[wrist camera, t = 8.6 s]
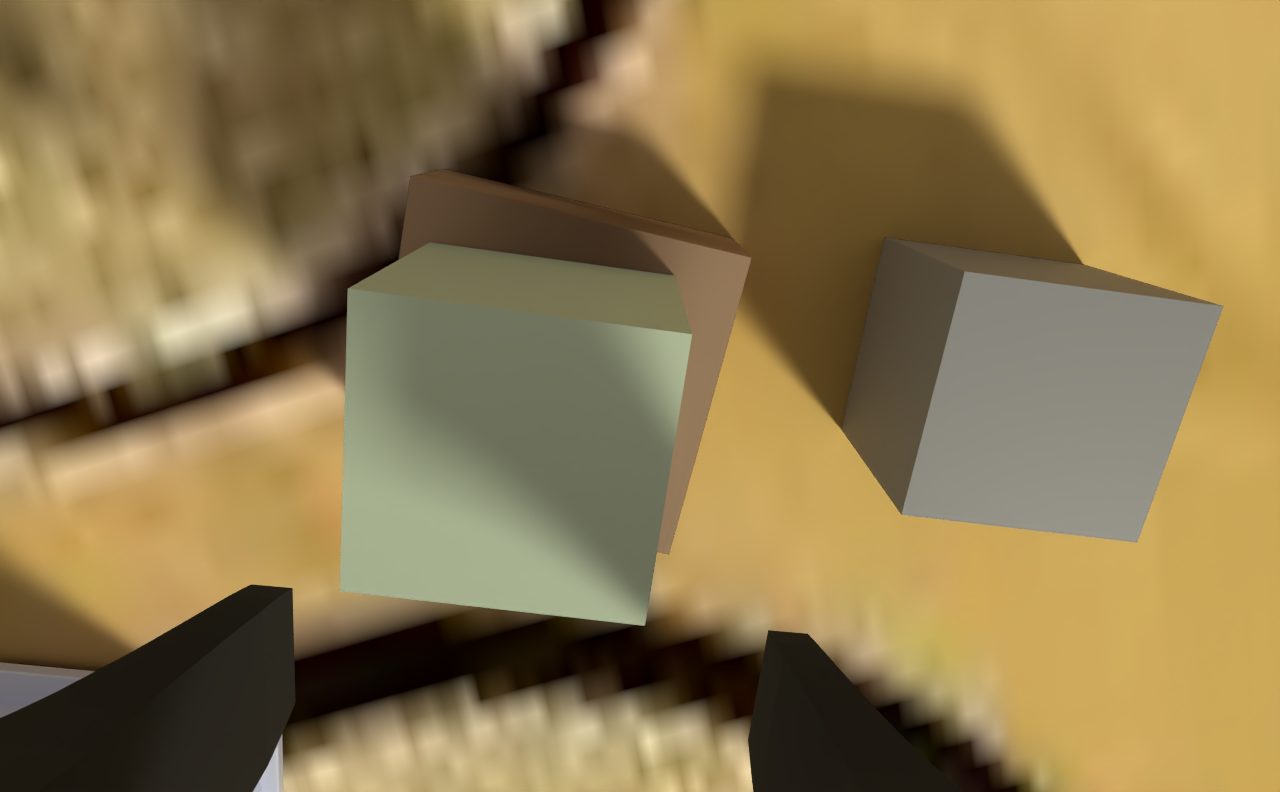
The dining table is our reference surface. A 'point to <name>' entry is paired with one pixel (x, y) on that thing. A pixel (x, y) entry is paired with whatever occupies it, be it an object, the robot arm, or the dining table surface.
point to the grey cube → (1022, 388)
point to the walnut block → (605, 238)
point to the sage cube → (510, 431)
